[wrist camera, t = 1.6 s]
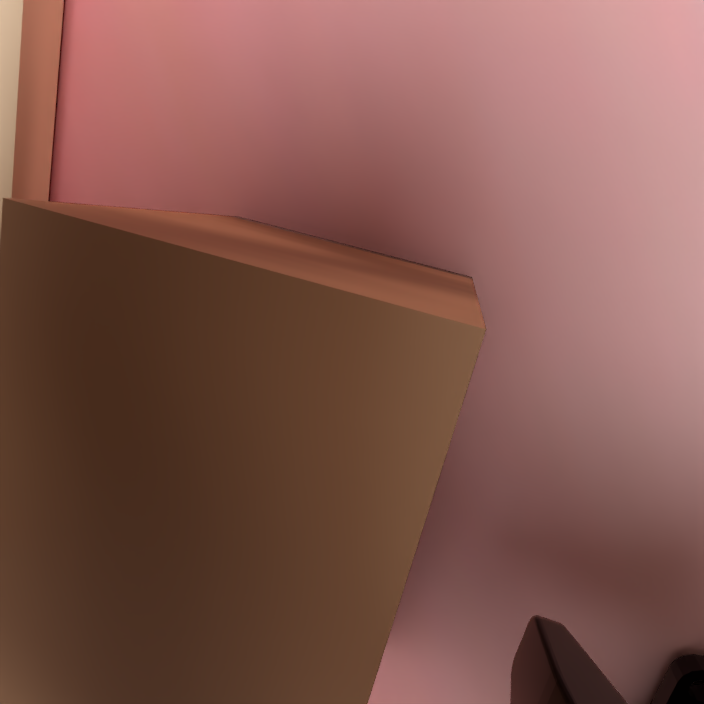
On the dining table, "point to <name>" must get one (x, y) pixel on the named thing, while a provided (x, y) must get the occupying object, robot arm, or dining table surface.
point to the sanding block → (213, 453)
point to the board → (28, 95)
